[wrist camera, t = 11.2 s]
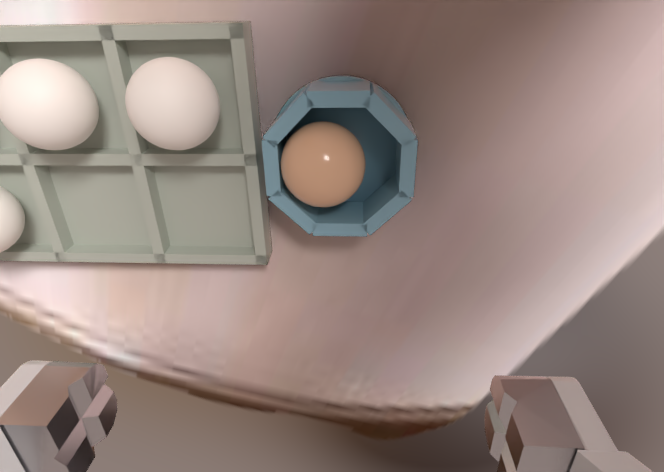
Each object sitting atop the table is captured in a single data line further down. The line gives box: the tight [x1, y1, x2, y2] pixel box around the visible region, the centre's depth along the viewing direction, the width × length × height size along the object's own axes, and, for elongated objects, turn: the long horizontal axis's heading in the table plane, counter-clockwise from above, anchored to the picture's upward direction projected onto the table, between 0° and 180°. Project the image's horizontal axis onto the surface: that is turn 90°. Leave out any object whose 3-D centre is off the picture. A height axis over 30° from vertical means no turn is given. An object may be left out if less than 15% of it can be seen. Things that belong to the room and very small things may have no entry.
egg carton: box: [0, 21, 272, 265], centre depth 25 cm, size 21×14×5 cm
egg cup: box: [262, 75, 418, 236], centre depth 25 cm, size 8×8×4 cm
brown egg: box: [281, 121, 366, 207], centre depth 24 cm, size 5×5×5 cm
